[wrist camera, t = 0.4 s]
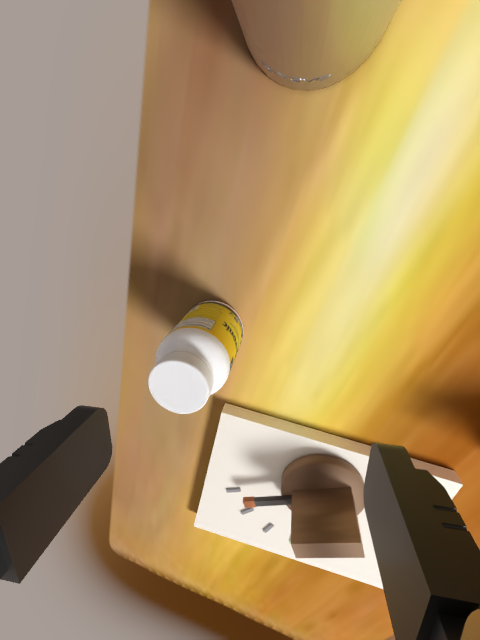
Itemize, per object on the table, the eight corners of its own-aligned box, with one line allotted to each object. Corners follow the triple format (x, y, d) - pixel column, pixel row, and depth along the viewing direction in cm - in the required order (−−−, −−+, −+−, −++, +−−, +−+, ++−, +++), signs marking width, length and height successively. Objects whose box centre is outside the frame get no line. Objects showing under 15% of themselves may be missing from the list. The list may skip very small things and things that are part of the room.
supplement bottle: (244, 355, 28) (220, 428, 20) (189, 350, 29) (141, 418, 20) (245, 300, 26) (218, 354, 17) (185, 296, 27) (130, 346, 18)
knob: (356, 450, 28) (370, 514, 23) (370, 511, 31) (386, 582, 25) (235, 461, 31) (221, 520, 26) (256, 516, 34) (248, 580, 28)
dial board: (225, 402, 31) (221, 413, 29) (455, 471, 29) (464, 486, 28) (197, 514, 38) (193, 527, 37) (380, 574, 36) (383, 591, 35)
